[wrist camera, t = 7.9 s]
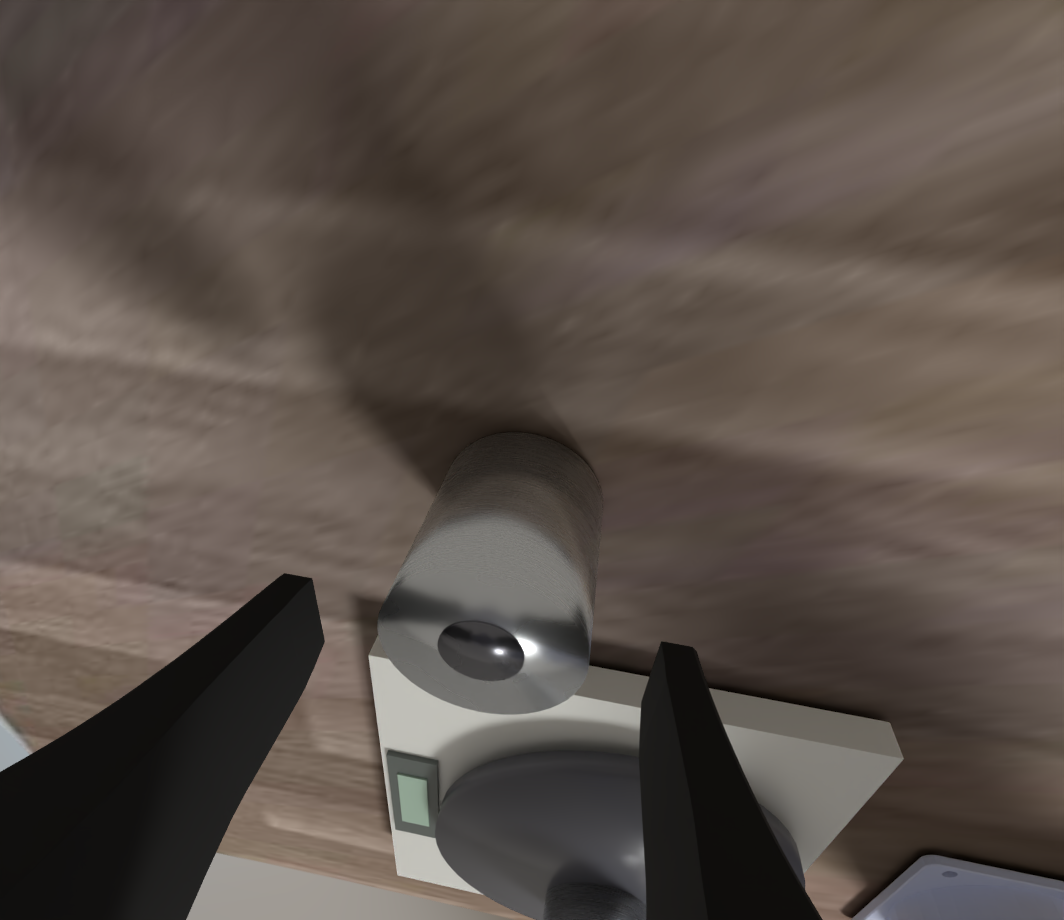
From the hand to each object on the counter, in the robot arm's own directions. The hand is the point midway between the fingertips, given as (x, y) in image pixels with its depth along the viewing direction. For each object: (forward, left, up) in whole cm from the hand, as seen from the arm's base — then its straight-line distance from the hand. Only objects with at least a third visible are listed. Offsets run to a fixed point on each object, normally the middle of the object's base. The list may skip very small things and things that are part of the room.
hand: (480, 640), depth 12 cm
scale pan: (-5, +16, -3) cm, 17 cm away
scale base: (-4, +16, -5) cm, 17 cm away
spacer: (0, 0, -5) cm, 5 cm away
